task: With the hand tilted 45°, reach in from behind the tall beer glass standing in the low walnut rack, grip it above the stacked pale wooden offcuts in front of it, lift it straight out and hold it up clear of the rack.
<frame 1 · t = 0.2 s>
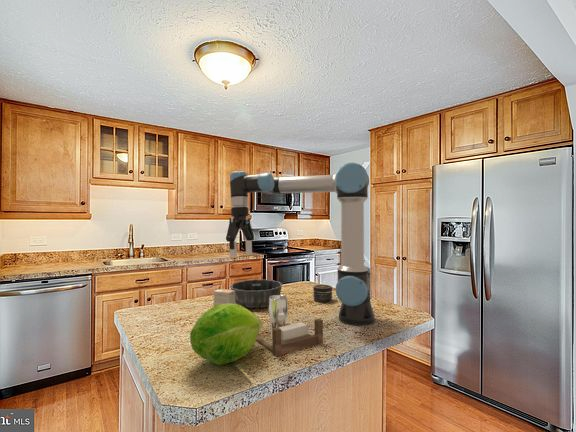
hand: (241, 256, 135), 27 cm above the countertop, tool pointing down, fingers open, 13 cm apart
supplement box: (224, 321, 133), on the countertop
rack: (278, 338, 114), on the countertop
beer glass: (278, 339, 114), on the countertop
jar: (322, 301, 165), on the countertop
lettuce: (229, 360, 97), on the countertop
offcut lower: (292, 344, 106), point 1 cm above the countertop, touching offcut upper, rack
bundt pan: (256, 304, 160), on the countertop
offcut upper: (292, 335, 106), point 4 cm above the countertop, touching offcut lower
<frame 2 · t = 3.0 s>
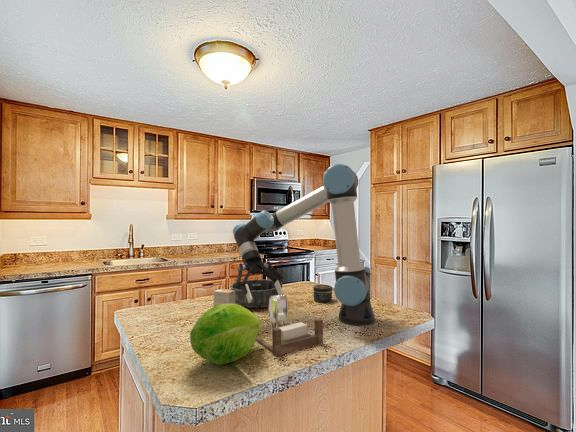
hand: (266, 298, 120), 13 cm above the countertop, tool tilted 45°, fingers open, 13 cm apart
nothing on the countertop moved.
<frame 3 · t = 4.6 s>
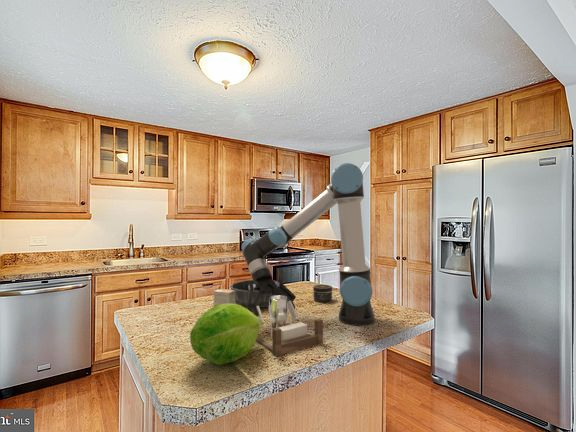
hand: (279, 321, 113), 7 cm above the countertop, tool tilted 45°, fingers open, 13 cm apart
nothing on the countertop moved.
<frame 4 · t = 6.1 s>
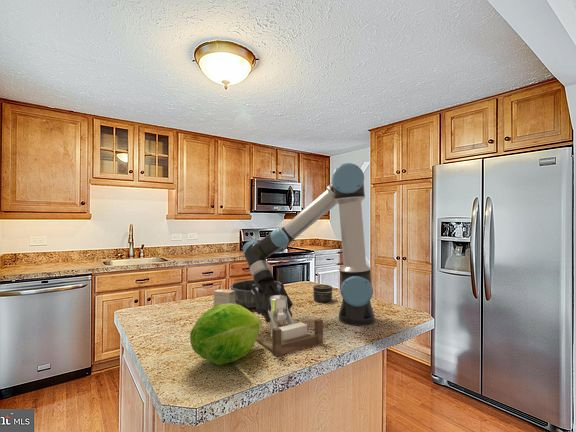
hand: (283, 327, 111), 5 cm above the countertop, tool tilted 45°, fingers closed on beer glass, 7 cm apart
beer glass: (278, 339, 114), on the countertop, touching gripper
everything else where it was.
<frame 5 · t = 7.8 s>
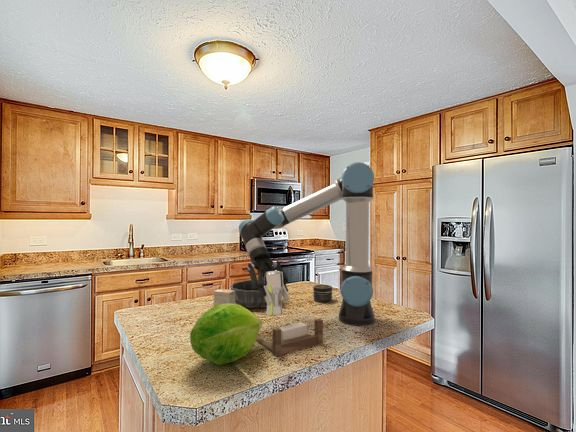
hand: (279, 301, 111), 14 cm above the countertop, tool tilted 45°, fingers closed on beer glass, 7 cm apart
beer glass: (274, 314, 114), point 9 cm above the countertop, touching gripper
everything else where it was.
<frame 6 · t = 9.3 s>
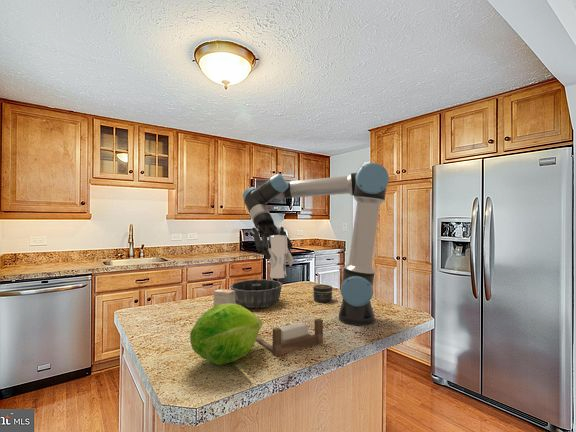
hand: (283, 264, 111), 27 cm above the countertop, tool tilted 45°, fingers closed on beer glass, 7 cm apart
beer glass: (278, 277, 114), point 22 cm above the countertop, touching gripper
everything else where it was.
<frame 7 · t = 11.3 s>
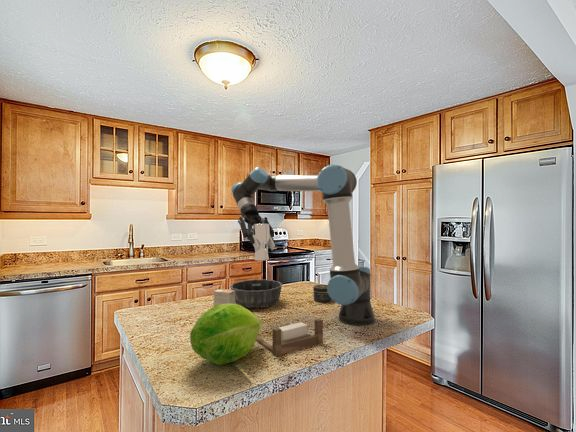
hand: (265, 248, 128), 31 cm above the countertop, tool tilted 45°, fingers closed on beer glass, 7 cm apart
beer glass: (261, 260, 131), point 26 cm above the countertop, touching gripper
everything else where it was.
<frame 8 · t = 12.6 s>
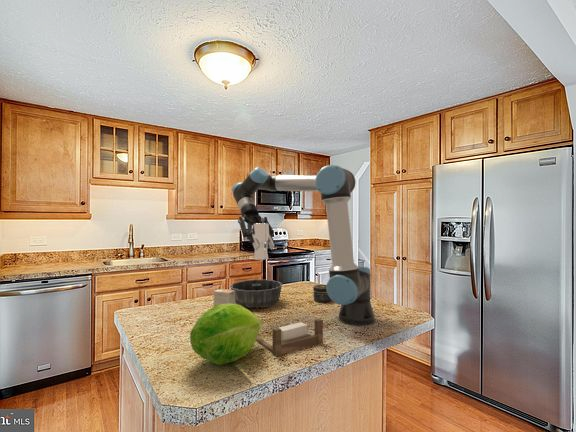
hand: (265, 247, 129), 31 cm above the countertop, tool tilted 45°, fingers closed on beer glass, 7 cm apart
beer glass: (261, 259, 132), point 26 cm above the countertop, touching gripper
everything else where it was.
at the end: the gripper is holding beer glass; beer glass point 26.2 cm above the countertop; offcut upper moved 0.0 cm from its start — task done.
